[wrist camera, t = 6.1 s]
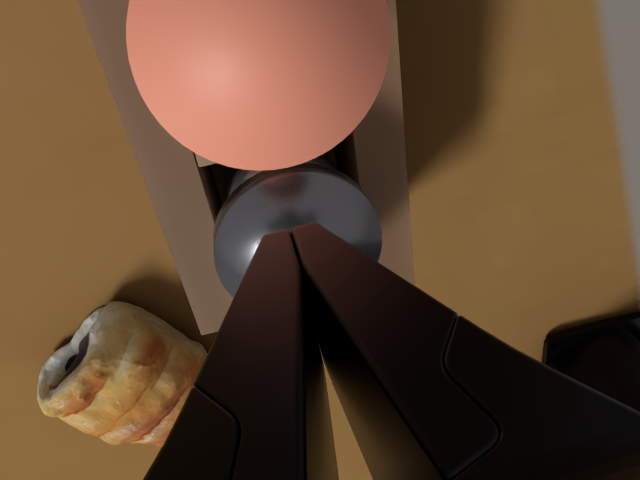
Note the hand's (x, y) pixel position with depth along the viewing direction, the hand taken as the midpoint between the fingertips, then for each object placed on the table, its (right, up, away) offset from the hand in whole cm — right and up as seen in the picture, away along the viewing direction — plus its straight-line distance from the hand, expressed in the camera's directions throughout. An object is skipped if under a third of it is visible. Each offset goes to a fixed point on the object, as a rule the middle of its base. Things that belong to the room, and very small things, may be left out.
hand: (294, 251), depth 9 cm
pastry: (-8, -6, +19) cm, 21 cm away
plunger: (-1, +3, +12) cm, 13 cm away
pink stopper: (-2, +7, +7) cm, 10 cm away
